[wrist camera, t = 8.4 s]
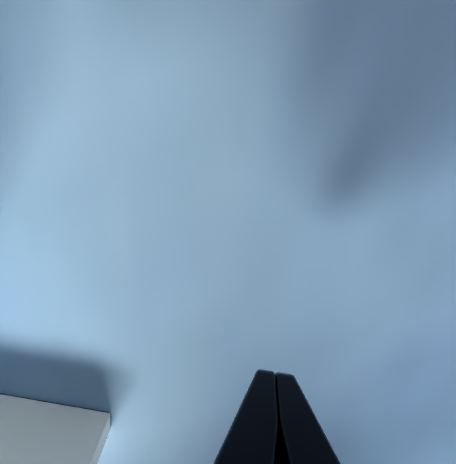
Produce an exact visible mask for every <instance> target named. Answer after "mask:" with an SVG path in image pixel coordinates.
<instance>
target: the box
mask: <svg viewBox="0 0 456 464" xmlns="http://www.w3.org/2000/svg"><path fill="white" fill-rule="evenodd" d="M110 428H111V423H110V413H105V412H100V411H94V410H88V409H82V408H77V407H71V406H65V405H59V404H53V403H48V402H42V401H36V400H30V399H25V398H19V397H13V396H7V395H2V394H0V464H97V462H98V460H99V457H100V454H101V452H102V449H103V447H104V444H105V441H106V439H107V436H108V434H109V431H110Z"/></svg>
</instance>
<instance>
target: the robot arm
mask: <svg viewBox="0 0 456 464" xmlns="http://www.w3.org/2000/svg"><path fill="white" fill-rule="evenodd" d="M214 464H340V462H339V460H338V458H337V456H336V454H335V453H334V451H333V449H332V447H331V445H330V443H329V441H328V439H327V437H326V436H325V434H324V432H323V430H322V428H321V426H320V424H319V422H318V420H317V419H316V417H315V415H314V413H313V411H312V409H311V407H310V405H309V403H308V402H307V400H306V398H305V396H304V394H303V392H302V390H301V388H300V386H299V385H298V383H297V381H296V379H295V377H294V376H293V375H291V374H286V373H280V372H277V373H276V374H275V373H274V372H272V371H267V370H261V369H259V370H257V372H256V374H255V376H254V378H253V380H252V382H251V384H250V386H249V389H248V391H247V393H246V395H245V397H244V399H243V402H242V404H241V406H240V408H239V410H238V412H237V414H236V417H235V419H234V421H233V423H232V425H231V427H230V429H229V432H228V434H227V436H226V438H225V440H224V442H223V444H222V447H221V449H220V451H219V453H218V455H217V457H216V460H215V462H214Z"/></svg>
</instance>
